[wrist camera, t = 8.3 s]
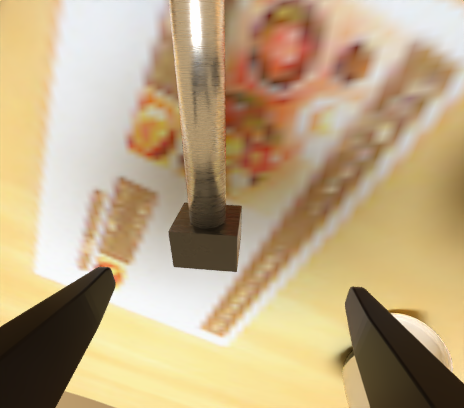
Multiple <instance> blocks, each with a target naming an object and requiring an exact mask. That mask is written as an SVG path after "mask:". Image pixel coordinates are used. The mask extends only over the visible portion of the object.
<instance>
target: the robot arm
mask: <svg viewBox="0 0 464 408" xmlns="http://www.w3.org/2000/svg"><path fill="white" fill-rule="evenodd" d="M114 289H115V280H114V277H113V274H112V271H111V269H110V268H109V267H98V268H96V269H94V270H93V271H91V272H89V273H88V274H86V275H84V276H83V277H81V278H80V279H78V280H76V281H75V282H73V283H71V284H70V285H68V286H66V287H65V288H63V289H62V290H60V291H58V292H57V293H55V294H53V295H52V296H50V297H48V298H47V299H45V300H43V301H42V302H40V303H39V304H37V305H35V306H34V307H32V308H30V309H29V310H27V311H25V312H24V313H22V314H21V315H19V316H17V317H16V318H14V319H12V320H11V321H9V322H7V323H6V324H4V325H2V326H1V327H0V408H55V407H56V406H57V404H58V402H59V400H60V398H61V396H62V394H63V393H64V391H65V389H66V387H67V385H68V383H69V381H70V379H71V378H72V376H73V374H74V372H75V370H76V368H77V366H78V364H79V363H80V361H81V359H82V357H83V355H84V353H85V351H86V349H87V348H88V346H89V344H90V342H91V340H92V338H93V336H94V334H95V333H96V331H97V329H98V327H99V325H100V322H101V320H102V318H103V315H104V313H105V311H106V308H107V306H108V303H109V301H110V298H111V296H112V294H113V291H114ZM345 309H346V315H347V320H348V325H349V331H350V336H351V341H352V346H353V351H354V355H355V359H356V362H357V366H358V369H359V372H360V376H361V379H362V382H363V385H364V389H365V392H366V395H367V399H368V402H369V405H370V408H464V383H463V382H461V381H460V380H459V379H458V378H457V377H456V376H455V375H454V374H453V373H452V372H451V371H450V370H449V369H448V368H447V367H446V366H445V365H444V364H443V363H442V362H441V361H440V360H439V359H438V358H436V357H435V356H434V355H433V354H432V353H431V352H430V351H429V350H428V349H427V348H426V347H425V346H424V345H423V344H422V343H421V342H420V341H419V340H418V339H417V338H416V337H415V336H414V335H413V334H412V333H410V332H409V331H408V330H407V329H406V328H405V327H404V326H403V325H402V324H401V323H400V322H399V321H398V320H397V319H396V318H395V317H394V316H393V315H392V314H391V313H390V312H389V311H388V310H387V309H385V308H384V307H383V306H382V305H381V304H380V303H379V302H378V301H377V300H376V299H375V298H374V297H373V296H372V295H371V294H370V293H369V292H368V291H367V290H366V289H364V288H362V287H351V288H350V289H349V292H348V295H347V298H346V302H345Z"/></svg>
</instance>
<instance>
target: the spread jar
mask: <svg viewBox="0 0 464 408" xmlns="http://www.w3.org/2000/svg"><path fill="white" fill-rule="evenodd" d="M391 314H392V315H393V316H394V317H395V318H396V319H397V320H398V321H399V322H400V323H401V324H402V325H403V326H404V327H405V328H406V329H407V330H408V331H409V332H410V333H412V334H413V335H414V336H415V337H416V338H417V339H418V340H419V341H420V342H421V343H422V344H423V345H424V346H425V347H426V348H427V349H428V350H429V351H430V352H431V353H432V354H433V355H434V356H435V357H436V358H438V359H439V360H440V361H441V362H442V363H443V364H444V365H445V366H446V367H447V368H448V369H449V370H450V371H451V372H452V371H453V366H452V359H451V356H450V353H449V350H448V349H447V347H446V345H445V343H444V342H443V340H442V339H441V338H440V336H439V335H438V334H437V333H436V332H435V331H434V330H433V329H432V328H431V327H429V326H428V325H426V324H425V323H424V322H422V321H420V320H418V319H416V318H414V317H412V316H409V315H405V314H400V313H391ZM343 382H344V388H345V393H346V397H347V401H348V405H349V408H370V405H369V402H368V399H367V395H366V392H365V389H364V385H363V382H362V379H361V376H360V372H359V369H358V366H357V362H356V359H355V355H354V351H353V350H352V351H351V353H350V354H349V355H348V357H347V359H346V361H345V363H344V367H343Z"/></svg>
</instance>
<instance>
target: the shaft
mask: <svg viewBox="0 0 464 408" xmlns="http://www.w3.org/2000/svg"><path fill="white" fill-rule="evenodd" d="M169 7H170V18H171V28H172V39H173V49H174V59H175V70H176V80H177V91H178V101H179V112H180V122H181V133H182V143H183V153H184V164H185V174H186V185H187V195H188V203H184V204H183V206H182V208H181V210H180V212H179V214H178V215H177V217H176V219H175V221H174V223H173V224H172V226H171V228H170V230H169V238H170V245H171V252H172V258H173V265H174V267H181V268H194V269H206V270H219V271H232V272H237V266H238V257H239V249H240V240H241V210H242V206H234V205H226V131H225V14H224V0H169Z"/></svg>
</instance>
